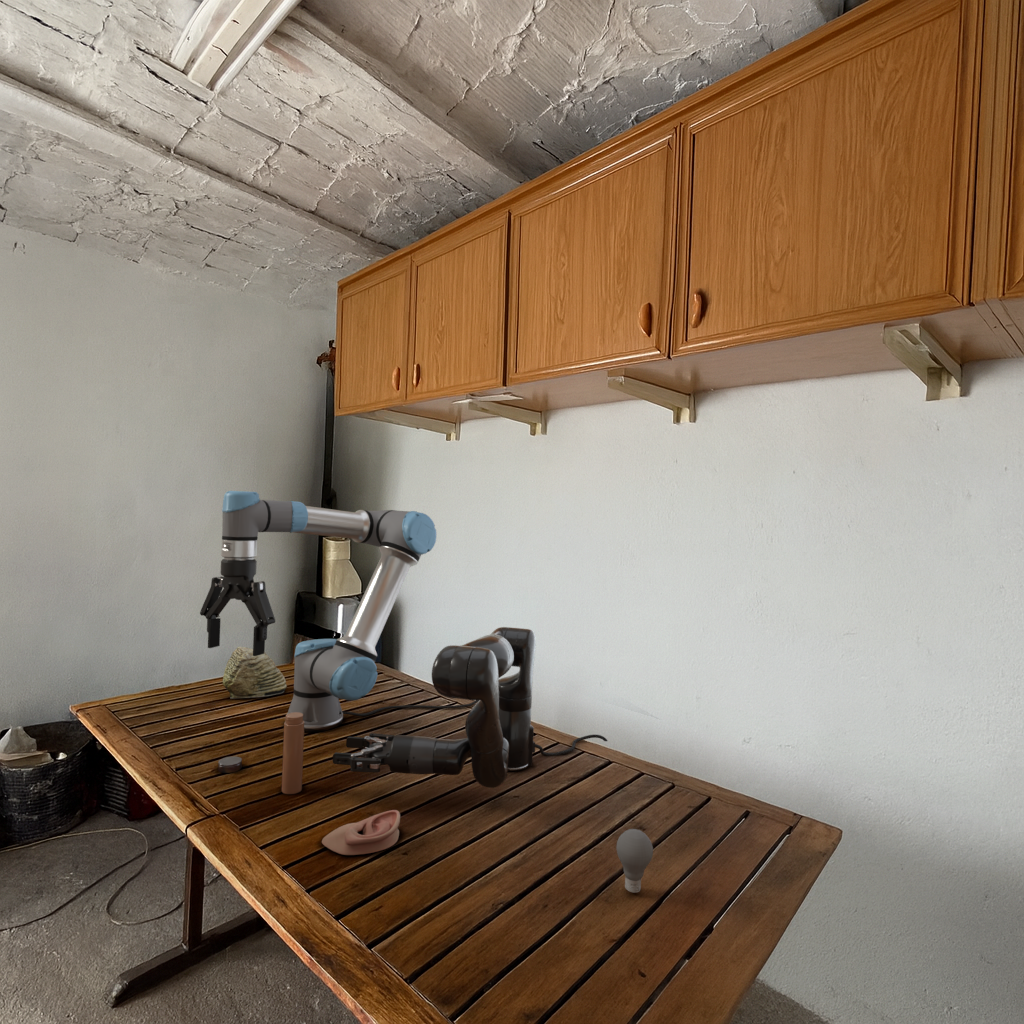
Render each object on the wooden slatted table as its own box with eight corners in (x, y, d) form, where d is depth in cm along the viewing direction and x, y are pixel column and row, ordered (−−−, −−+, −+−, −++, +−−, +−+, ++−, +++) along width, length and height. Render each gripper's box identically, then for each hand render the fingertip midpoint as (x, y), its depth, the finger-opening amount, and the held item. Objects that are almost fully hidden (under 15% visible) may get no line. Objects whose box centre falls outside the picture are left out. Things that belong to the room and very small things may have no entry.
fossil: (218, 695, 195) (220, 647, 195) (278, 685, 208) (279, 640, 207) (228, 703, 189) (230, 653, 188) (289, 692, 201) (290, 645, 201)
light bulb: (610, 879, 108) (613, 822, 108) (644, 879, 109) (647, 822, 109) (619, 902, 102) (622, 840, 102) (655, 901, 103) (658, 840, 103)
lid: (245, 768, 146) (245, 760, 146) (224, 775, 142) (224, 767, 142) (235, 762, 149) (235, 754, 149) (214, 768, 145) (214, 760, 145)
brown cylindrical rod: (277, 792, 135) (280, 716, 135) (289, 784, 139) (291, 710, 139) (294, 795, 134) (297, 719, 133) (305, 787, 138) (308, 713, 137)
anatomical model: (313, 828, 113) (343, 799, 125) (313, 850, 113) (342, 819, 125) (383, 839, 111) (407, 808, 122) (382, 862, 111) (406, 829, 122)
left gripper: (185, 555, 146) (182, 646, 146) (269, 563, 137) (265, 661, 137) (211, 553, 153) (208, 640, 153) (293, 561, 143) (290, 654, 144)
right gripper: (422, 725, 142) (351, 720, 143) (407, 751, 128) (329, 745, 129) (421, 758, 142) (350, 753, 143) (406, 787, 128) (327, 782, 129)
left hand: (235, 650), depth 145 cm, fingers open, 13 cm apart
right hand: (340, 749), depth 136 cm, fingers open, 8 cm apart
